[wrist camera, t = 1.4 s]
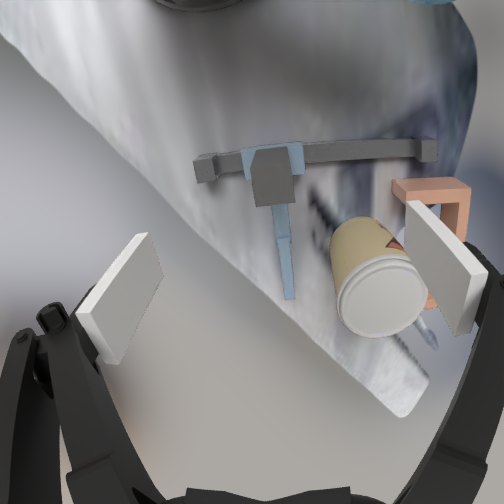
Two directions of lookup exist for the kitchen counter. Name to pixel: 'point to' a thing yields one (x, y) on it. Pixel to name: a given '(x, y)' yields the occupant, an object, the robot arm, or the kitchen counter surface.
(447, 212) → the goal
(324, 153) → the rail
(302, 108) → the kitchen counter surface
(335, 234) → the coffee cup
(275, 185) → the pusher
